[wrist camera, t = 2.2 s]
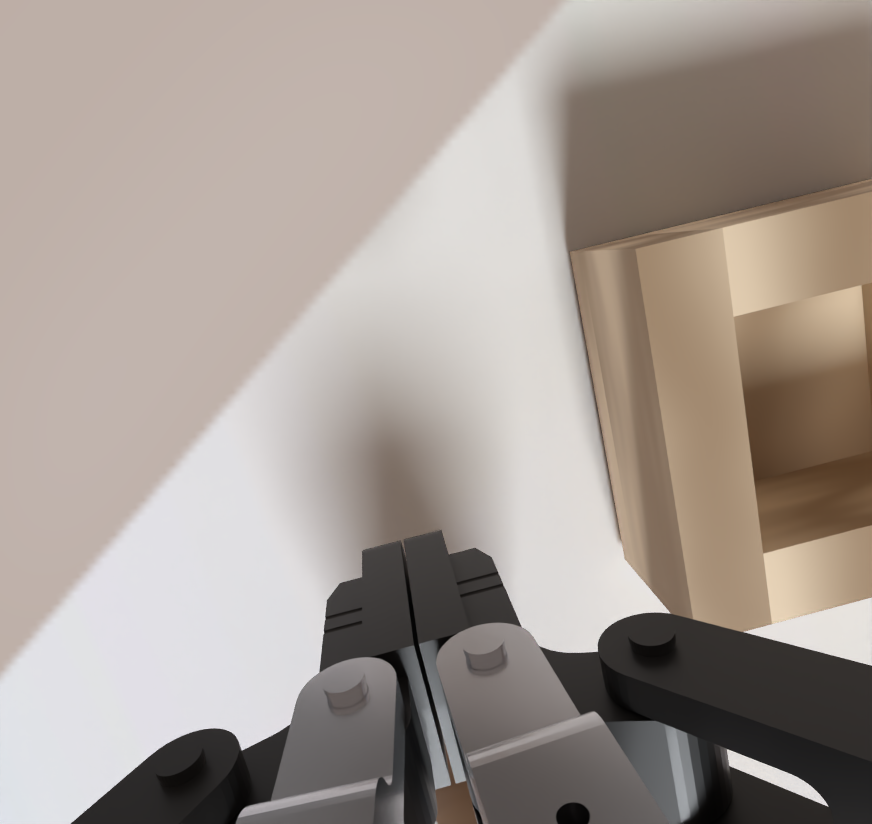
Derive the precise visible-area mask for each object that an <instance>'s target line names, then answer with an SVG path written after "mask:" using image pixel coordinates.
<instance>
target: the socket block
mask: <svg viewBox="0 0 872 824" xmlns="http://www.w3.org/2000/svg"><path fill="white" fill-rule="evenodd" d="M570 256H571V261H572V267H573V273H574V278H575V284H576V289H577V295H578V300H579V306H580V312H581V317H582V323H583V328H584V334H585V340H586V345H587V351H588V356H589V362H590V367H591V373H592V379H593V384H594V390H595V395H596V401H597V406H598V412H599V418H600V423H601V429H602V434H603V440H604V445H605V451H606V457H607V462H608V468H609V473H610V479H611V484H612V490H613V496H614V501H615V507H616V512H617V518H618V524H619V529H620V535H621V540H622V546H623V551H624V557H625V560H626V561H627V562H628V563H629V565H630V566H631V567H632V568H633V569H634V570H635V572H636V573H637V574H638V575H639V576H640V577H641V579H642V580H643V581H644V582H645V583H646V585H647V586H648V587H649V588H650V589H651V590H652V592H653V593H654V594H655V595H656V596H657V597H658V599H659V600H660V601H661V602H662V603H663V605H664V606H665V607H666V608H667V609H668V610H669V612H670V613H671V614H674V615H679V616H682V617H686V618H690V619H694V620H698V621H702V622H705V623H709V624H713V625H717V626H721V627H725V628H728V629H732V630H736V631H740V632H744V631H748V630H751V629H755V628H759V627H763V626H766V625H770V624H774V623H778V622H781V621H785V620H789V619H793V618H796V617H800V616H804V615H807V614H811V613H815V612H819V611H822V610H826V609H830V608H834V607H837V606H841V605H845V604H849V603H852V602H856V601H860V600H864V599H867V598H871V597H872V179H869V180H864V181H860V182H856V183H852V184H848V185H844V186H840V187H836V188H831V189H827V190H823V191H819V192H815V193H811V194H807V195H802V196H798V197H794V198H790V199H786V200H782V201H778V202H773V203H769V204H765V205H761V206H757V207H753V208H749V209H745V210H740V211H736V212H732V213H728V214H724V215H720V216H716V217H711V218H707V219H703V220H699V221H695V222H691V223H687V224H682V225H678V226H674V227H670V228H666V229H662V230H658V231H653V232H649V233H645V234H641V235H637V236H633V237H629V238H625V239H620V240H616V241H612V242H608V243H604V244H600V245H596V246H591V247H587V248H583V249H579V250H575V251H571V252H570Z"/></svg>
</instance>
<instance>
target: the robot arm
mask: <svg viewBox="0 0 872 824" xmlns="http://www.w3.org/2000/svg"><path fill="white" fill-rule="evenodd" d="M404 545H405V552H406V557H405V553H404V549H403V546H402V543H401V541H397V542H393V543H389V544H385V545H381V546H377V547H374V548H370V549H366V550H363V551H362V578H358V579H354V580H351V581H347V582H343V583H340V584H339V585H338V587H337V588H336V589H335V591H334V592H333V593H332V595H331V596H330V597H329V599H328V600H327V607H326V616H325V617H326V620H325V625H324V633H325V634H324V635H323V644H322V654H321V663H320V673H318V674H317V675H316V676H314V677H313V678H312V679H311V680H310V681H309V682H308V683H307V684H306V685H305V686H304V688H303V689H302V690H301V692H300V694H299V696H298V698H297V701H296V705H295V709H294V713H293V717H292V721H291V724H290V725H289V726H287V727H286V728H284V729H283V730H281V731H280V732H278V733H276V734H274V735H273V736H271V737H269V738H267V739H265V740H263V741H261V742H259V743H257V744H255V745H253V746H251V747H249V748H247V749H245V750H243V751H242V750H241V747H240V745H239V742H238V740H237V738H236V736H235V735H234V734H232V733H231V732H229V731H227V730H223V729H204V730H199V731H195V732H192V733H189V734H186V735H184V736H181V737H179V738H177V739H175V740H173V741H171V742H170V743H168V744H166V745H165V746H163V747H162V748H160V749H158V750H157V751H156V752H155V753H153V754H152V755H151V756H150V757H148V758H147V759H146V760H145V761H144V762H142V763H141V764H140V765H139V766H138V767H137V768H135V769H134V770H133V771H132V772H131V773H130V774H128V775H127V776H126V777H125V778H124V779H123V780H121V781H120V782H119V783H118V784H117V785H116V786H114V787H113V788H112V789H111V790H110V791H109V792H107V793H106V794H105V795H104V796H103V797H101V798H100V799H99V800H98V801H97V802H96V803H94V804H93V805H92V806H91V807H90V808H89V809H87V810H86V811H85V812H84V813H83V814H82V815H80V816H79V817H78V818H77V819H76V820H75V821H73V822H72V823H71V824H438V823H437V819H436V818H437V813H438V812H437V799H436V792H435V790H436V789H439V788H443V787H447V786H450V785H451V781H450V775H449V769H448V763H447V757H446V751H445V745H446V749H447V753H448V756H449V760H450V764H451V768H452V772H453V775H454V779H455V783H460V782H464V781H466V782H467V785H468V789H469V793H470V797H471V800H472V805H473V809H474V812H475V816H476V820H477V824H872V666H870V665H866V664H863V663H859V662H855V661H851V660H847V659H843V658H840V657H836V656H832V655H828V654H824V653H820V652H817V651H813V650H809V649H805V648H801V647H797V646H794V645H790V644H786V643H782V642H778V641H774V640H771V639H767V638H763V637H759V636H755V635H751V634H748V633H744V632H740V631H736V630H732V629H728V628H725V627H721V626H717V625H713V624H709V623H705V622H702V621H698V620H694V619H690V618H686V617H682V616H679V615H674V614H668V613H643V614H638V615H633V616H630V617H626V618H624V619H621V620H619V621H617V622H615V623H614V624H612V625H611V626H609V627H608V628H607V629H606V630H605V631H604V632H603V633H602V635H601V637H600V639H599V642H598V652H589V653H563V652H556V651H551V650H548V649H545V648H542V647H540V646H538V644H537V642H536V641H535V639H534V637H533V636H532V635H531V634H530V633H529V632H528V631H527V630H526V629H524V628H522V627H521V625H520V622H519V620H518V618H517V615H516V613H515V611H514V608H513V606H512V604H511V601H510V599H509V597H508V594H507V592H506V590H505V587H504V586H503V583H502V581H501V578H500V576H499V575H498V571H497V569H496V567H495V564H494V562H493V560H492V557H490V556H488V555H487V554H485V553H483V552H481V551H480V550H478V549H476V548H473V549H469V550H466V551H462V552H458V553H454V554H450V555H448V552H447V548H446V545H445V541H444V538H443V535H442V531H441V530H439V531H435V532H431V533H427V534H424V535H420V536H416V537H412V538H408V539H404ZM406 559H407V560H406ZM443 738H444V739H443ZM444 741H445V745H444ZM727 749H729V750H731V751H734V752H736V753H739V754H742V755H744V756H747V757H749V758H752V759H754V760H757V761H759V762H762V763H765V764H767V765H770V766H772V767H775V768H777V769H780V770H782V771H785V772H787V773H790V774H792V775H794V776H797V777H798V778H800V779H802V780H804V781H805V782H806V783H808V784H809V785H811V786H812V787H813V788H814V789H815V790H816V791H817V792H818V793H819V794H820V795H821V796H822V797H823V799H824V800H825V801H826V803H827V804H828V806H829V807H827V806H825V805H823V804H820V803H818V802H815V801H813V800H810V799H808V798H805V797H803V796H801V795H798V794H796V793H793V792H791V791H788V790H786V789H784V788H781V787H779V786H776V785H774V784H771V783H769V782H767V781H764V780H762V779H759V778H757V777H754V776H752V775H749V774H747V773H745V772H742V771H740V770H737V769H735V768H732V767H730V766H729V762H728V755H727Z"/></svg>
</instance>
